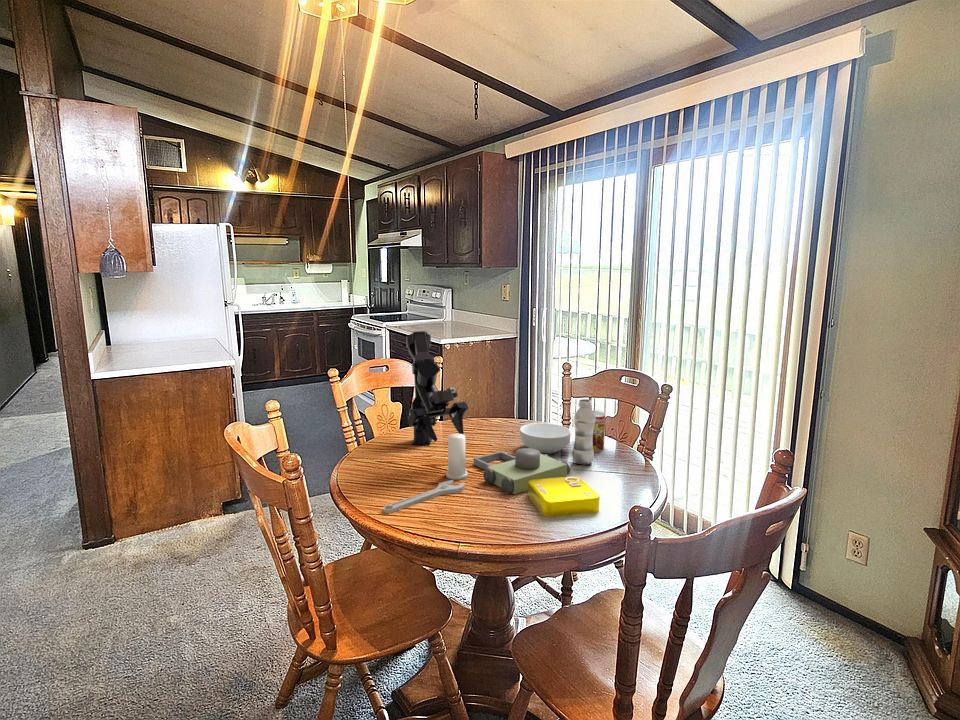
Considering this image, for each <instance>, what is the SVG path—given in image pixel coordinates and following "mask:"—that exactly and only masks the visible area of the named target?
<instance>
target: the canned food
mask: <svg viewBox="0 0 960 720" xmlns="http://www.w3.org/2000/svg"><path fill="white" fill-rule="evenodd" d="M592 411H593V412H594V414H595V417H596V419H595V425H594V430H593V451H594V453H598V452H602V451H604V450H605V449H604V448H605V432H606V431H605V429H606V413H605V412H603V411H599V410H592Z"/></svg>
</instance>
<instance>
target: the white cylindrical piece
mask: <svg viewBox="0 0 960 720" xmlns="http://www.w3.org/2000/svg"><path fill="white" fill-rule="evenodd" d="M468 475H469V472H468V471H467V469H466V435H465V434H459V433H451V434H448V436H447V470H446V471H445V478H446V479H448V480H454V481H462V480H465V479H467V478H468V477H469V476H468Z"/></svg>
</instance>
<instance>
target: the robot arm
mask: <svg viewBox="0 0 960 720" xmlns="http://www.w3.org/2000/svg"><path fill="white" fill-rule="evenodd" d="M431 338H432V337H431V334H430V333H428V332H427V331H425V330H423V331H422V330H421V331H420V330H418V331H417V330H415V331H413V332H412V333H410V334H408V335H406V338H405V339H406V340H405V341H406V348H407V349H408V355H409V356H410V357H411V359H412V360H413V362H412V363H411V373H412V374H411V375H414V376H413V377H414V378H413V379H414V380H413V381H414V398H413V401H412V403H411V408H410V409H409V416H408V417H407V424H408V426H409V427H410V428H413V439H412V441H411V442H410V443H411V445H427V446H428V445H429V446H430V445H431V444H432V441H433V442H437V441H438V438H437V434H436V433H435V429H434V428H433V427H435V426H436V425H437V418H438V417H444V416H449V418H450V419H451V420H450V421H451V423H452V425H453V427H454V428H455V429H456V431H457V432H458V433H457V434H463V435H465V433H464V423H463V422H464V421H463V417H464V415H465V414H466V413H467V411H468V410H469V406H468V403H467V402H466V401H456V402H453V403H452V405H451V407H448V406H449V405H450V403H449V402H451V401H455V398H457V397H458V391H457V390H456V388H455V387H454V386H451V387H448V388H447V389H445V390H438V388H437V386H436V383H437V377H438V374H439V372H441V371H440V370H441V368H440V365H438V363H437V362H436V360H435V357H434V356H433V355H432V354H431V353H430V352H429V349H430V348H431V346H432V339H431Z"/></svg>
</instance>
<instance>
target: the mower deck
mask: <svg viewBox="0 0 960 720" xmlns="http://www.w3.org/2000/svg"><path fill="white" fill-rule="evenodd" d="M514 452H515V454H514V455H512V454H509V453H507V452H504V451H502V450H500V451H497V452H492V453H488V454H484V455H481V456H477V457H474V458H473V465H474V466H476V467H479V468H480V469H483V470H484V471H483V479H484V481H485V483H486V484H488V485H490V484H493V485H495V486H496V487H499V488H501V489H502V491H503V492H504V493H505V494H510V493H511V494H512V495H517V494H519V493H523V492H527V491H528V482H529V481H530V480H534V479H546V478H558V477H568V475H570V472H571V468H570V465H569V463H568V462H567V461H565V460H564V461H559V460H557V459H556V458H555V459H554V458H552V457H550V456H549V454H543V453H540V452H539V451H538V450H536V449H531V448H528V447H524V448H523V447H522V448H518V449H516V450H515V451H514ZM496 459H497V460H500V459H502V460H504V461H505V462H500V463H497V464H491V463H489V462H492V461H496Z"/></svg>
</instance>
